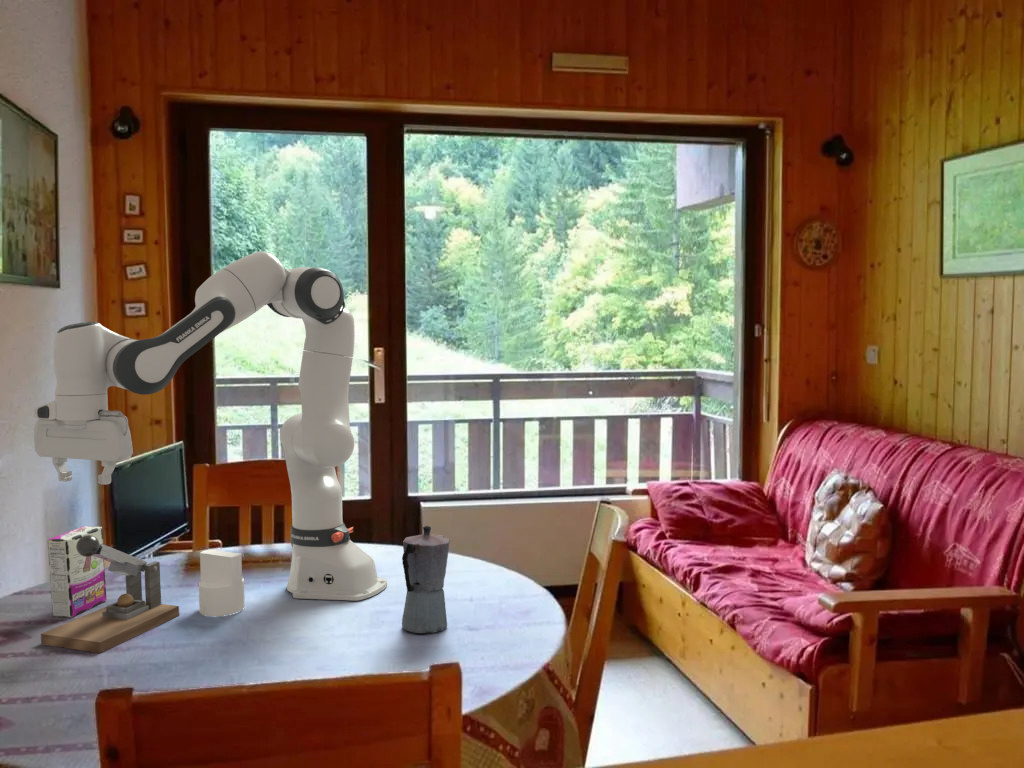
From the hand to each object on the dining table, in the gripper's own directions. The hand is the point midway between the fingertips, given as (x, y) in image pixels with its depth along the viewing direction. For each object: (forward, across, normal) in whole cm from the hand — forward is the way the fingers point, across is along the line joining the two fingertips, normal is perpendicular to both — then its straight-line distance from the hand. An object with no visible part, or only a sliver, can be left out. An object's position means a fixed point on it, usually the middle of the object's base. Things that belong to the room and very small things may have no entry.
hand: (84, 482), depth 164 cm
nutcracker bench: (+30, 0, -6) cm, 31 cm away
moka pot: (+30, -58, -25) cm, 70 cm away
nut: (+27, 0, -9) cm, 29 cm away
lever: (+18, 0, -5) cm, 18 cm away
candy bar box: (+30, +16, -13) cm, 37 cm away
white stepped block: (+30, -13, -22) cm, 40 cm away
